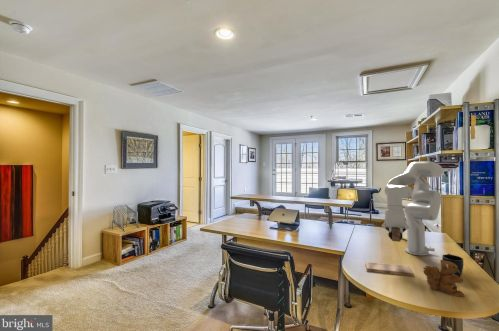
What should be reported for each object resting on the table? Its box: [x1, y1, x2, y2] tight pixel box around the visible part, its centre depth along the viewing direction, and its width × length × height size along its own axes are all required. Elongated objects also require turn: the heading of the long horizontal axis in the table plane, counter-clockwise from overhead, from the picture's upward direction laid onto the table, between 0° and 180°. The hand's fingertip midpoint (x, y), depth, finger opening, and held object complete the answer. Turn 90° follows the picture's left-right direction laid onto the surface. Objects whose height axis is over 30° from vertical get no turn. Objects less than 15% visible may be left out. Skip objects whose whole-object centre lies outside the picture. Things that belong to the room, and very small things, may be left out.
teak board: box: [364, 261, 415, 277], centre depth 133 cm, size 22×9×2 cm, turn 70°
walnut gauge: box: [390, 227, 401, 243], centre depth 138 cm, size 4×10×7 cm, turn 159°
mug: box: [441, 253, 464, 278], centre depth 125 cm, size 8×12×10 cm
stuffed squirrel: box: [422, 259, 465, 298], centre depth 111 cm, size 10×14×13 cm
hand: (395, 238), depth 140 cm, fingers closed on walnut gauge, 4 cm apart
